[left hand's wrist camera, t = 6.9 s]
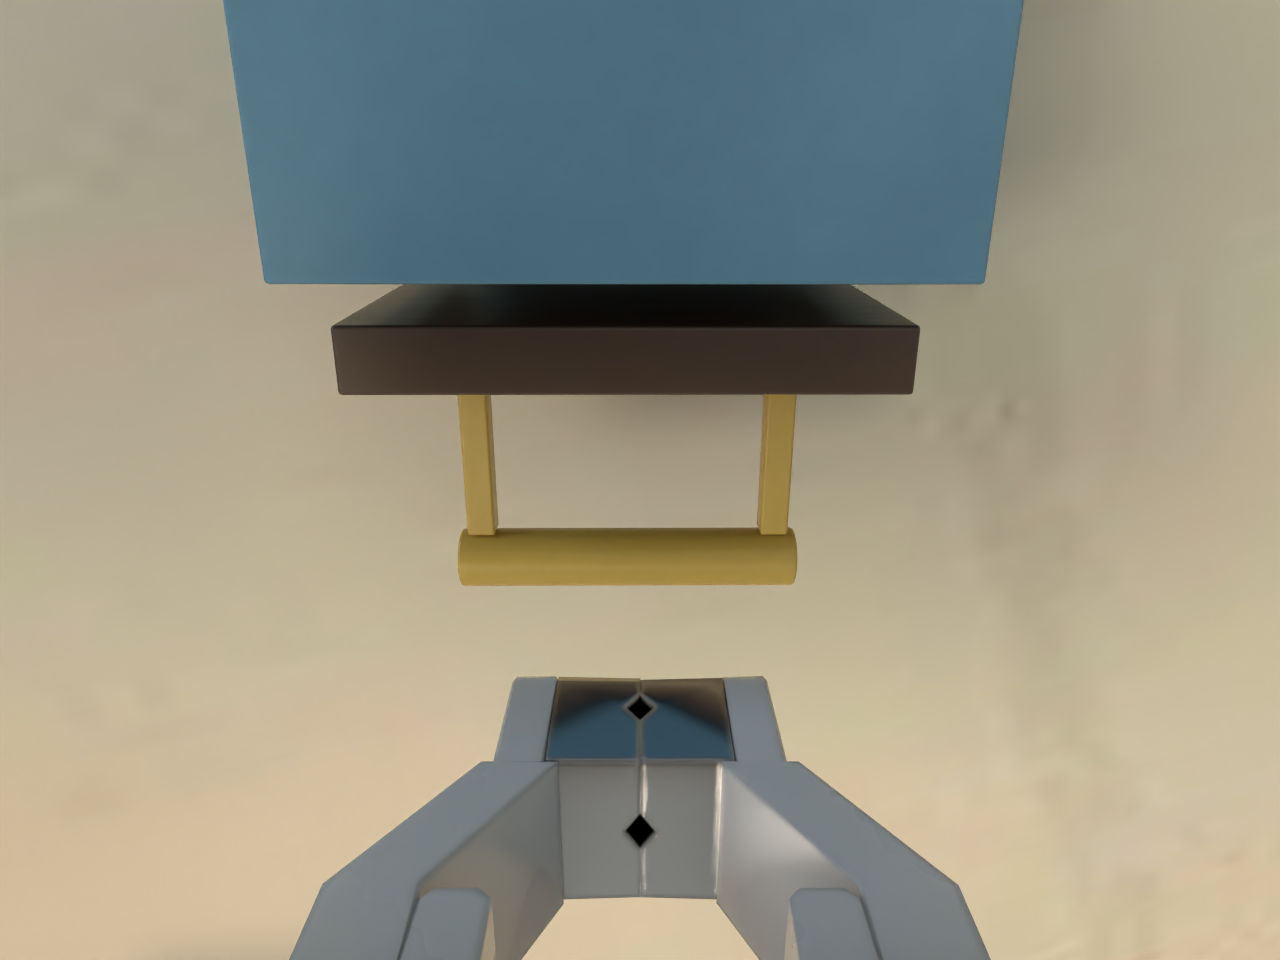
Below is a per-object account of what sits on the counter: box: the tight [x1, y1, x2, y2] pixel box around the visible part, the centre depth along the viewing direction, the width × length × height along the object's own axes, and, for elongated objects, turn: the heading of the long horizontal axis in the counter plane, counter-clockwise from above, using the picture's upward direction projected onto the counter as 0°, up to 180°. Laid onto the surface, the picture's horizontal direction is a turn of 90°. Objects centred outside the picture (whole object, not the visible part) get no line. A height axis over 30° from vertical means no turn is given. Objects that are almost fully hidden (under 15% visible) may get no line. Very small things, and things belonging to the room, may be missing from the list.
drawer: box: [331, 284, 920, 586], centre depth 17 cm, size 23×10×10 cm, turn 0°
